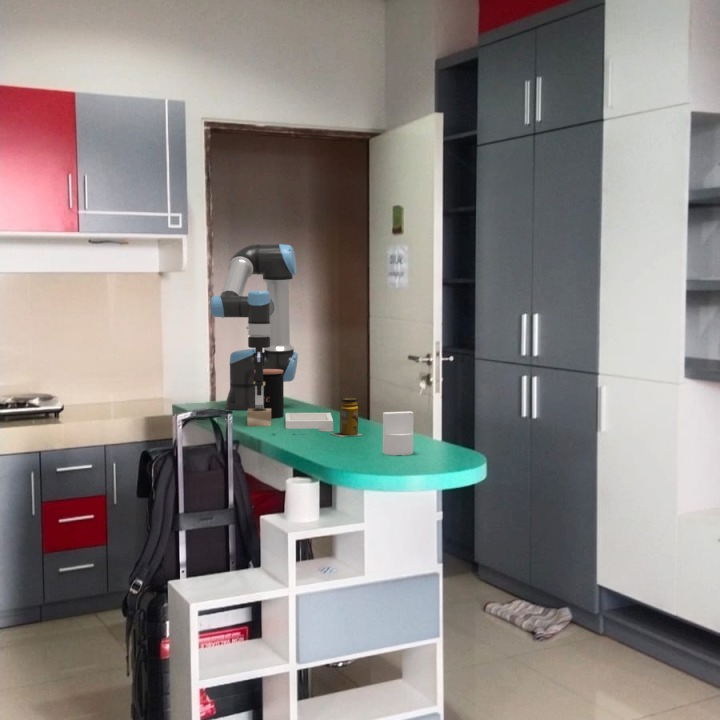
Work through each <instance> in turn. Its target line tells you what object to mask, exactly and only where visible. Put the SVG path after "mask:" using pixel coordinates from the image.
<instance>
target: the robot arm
mask: <svg viewBox="0 0 720 720" xmlns="http://www.w3.org/2000/svg"><path fill="white" fill-rule="evenodd" d="M296 260H297V259H296V254H295V250H294V248H293V246H291V245H290V244H284V243H283V244H282V243H279V244H278V243H277V244H276V243H275V244H274V243H273V244H271V243H269V244H268V243H267V244H258V243H257V244H256V243H254V244H249V245H246V246H245V247H242V248H241V249H239V250H238V251H237V252H235V254H233V255H232V257H231V259H230V261H229V262H228V267H227V268H228V273H227V276H226V279H225V281H224V284H223V287H222V289H221V292H220V294H218V295H214V296H212V297H211V299H210V306H209V307H210V313H211V317H212V316H213V317H214V318H222V319H223V318H247V320H248V321H247V326H246V327H245V328H246V330H247V331H248V332H247V335H248V336H249V337H247V346H248V348H249V349H242V350H235V351H233V352H231V353H230V355H229V392H228V393H227V396H226V397H227V398H226V400H225V408H226V409H228V410H235V411H236V410H237V411H243V410H245V411H248V409H254V386H255V405H263V380H264V379H263V369H280V370H283V374H282V376H283V378H284V382H285V383H286V382H292V381H294V379H295V377H296V372H297V367H298V359H299V358H298V357H299V354H298V353H297V352H296V351H294V350H295V349H294V347H293V346H292V344H291V343H290V342H291V341H290V340H291V339H290V338H291V337H290V336H291V335H290V283H291V282H292V281H293V280H294V279H293V278H294V277H293V276H295V275H297V272H298V271H297V261H296ZM252 275H262V281H264V282H265V283H266V290H251V291H248V293H247V295H245V296H244V295H243V294H244V293H245V292H244V291H245V288H246V286H247V282H248V279H249V278H250V277H251V276H252ZM263 349H264V351H263ZM254 370H255V373H254ZM254 377H255V384H254Z"/></svg>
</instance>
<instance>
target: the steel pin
mask: <svg viewBox="0 0 720 720" xmlns="http://www.w3.org/2000/svg"><path fill="white" fill-rule="evenodd" d="M254 384H255V382H254ZM264 386H265V382H264V381H263V405H255V411H264Z"/></svg>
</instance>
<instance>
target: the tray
mask: <svg viewBox="0 0 720 720" xmlns="http://www.w3.org/2000/svg"><path fill="white" fill-rule="evenodd" d="M284 413H285V415H284V416H285V429H286V430H288V429H289V430H297V429H298V430H299V429H301V430H302V429H306V430H307V429H311V430H313V429H317V430H318V431H319V432H334V419H333V416H332V413H331V412H284Z"/></svg>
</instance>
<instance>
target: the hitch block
mask: <svg viewBox="0 0 720 720" xmlns="http://www.w3.org/2000/svg"><path fill="white" fill-rule="evenodd" d="M246 411H247V413H246V415H247V417H246V419H247V422H246V423H247V425H246V426H247V427H271V426H272V419H271V408H264V411H255V409H248V410H246Z"/></svg>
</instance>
